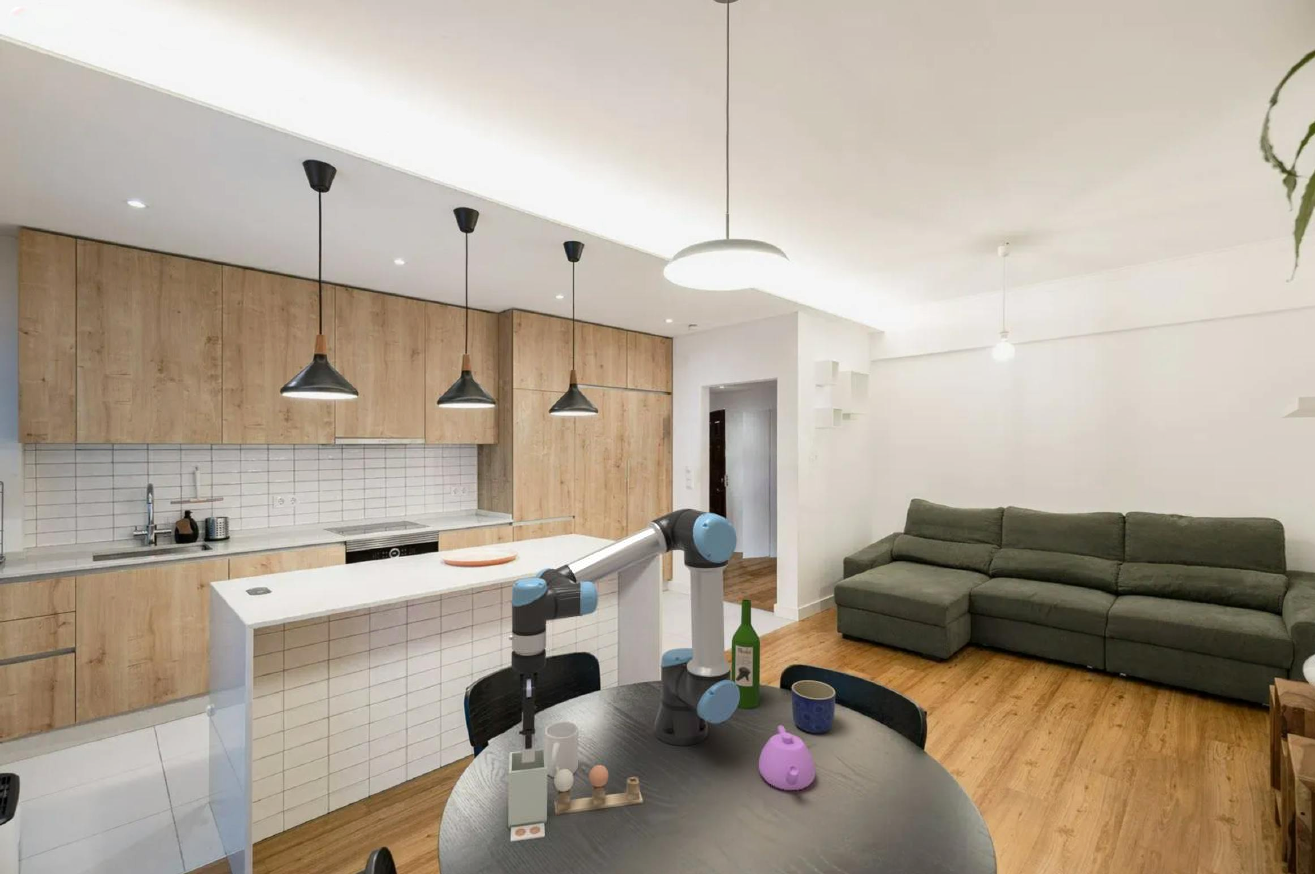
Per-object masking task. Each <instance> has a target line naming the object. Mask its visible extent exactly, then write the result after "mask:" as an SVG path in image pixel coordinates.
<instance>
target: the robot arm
mask: <svg viewBox="0 0 1315 874" xmlns="http://www.w3.org/2000/svg"><path fill="white" fill-rule="evenodd" d="M737 539H738V538H737V533H736V530H735V527H734V526H733V524H732V523H731V522H730V521H729V520H728V519H727V518H726V517H724V516H721V515H719V514H716V513H714V512H707V511H702V510H696V509H694V508H681V509H678V510H675V511H672V512H669V513H667V514H665V515H662V516H659V517H658V518H655V519H654V520H652V521H648V522H647V523H646V527H645V528H643V529H640V530H638V531H636V532H633V533H632V534H629V535H628V536H625V537H623V538H621V539H619V540H616V541H614V542H612V543H610V544H608V545H606V546H604V547H601V548H599V549H597V550H594V551H593V552H591V553H588V554H586V555H584V556H582V557H579V558H578V559H576V560H573V561H570V562H569V563H567V564H564V565H562V566H559V567H558V568H555V569H554V568H551V567H550V568H543V569H541V570H540V571H538V572H537V574H535V576H534V577H525V578H521V579H518V580H517V581H515V582H514V583H513V586H512V590H511V592H512V593H511V594H512V595H511V602H510V604H511V635H509V636H508V640H509V641H511V650H512V651H511V668H512V670H513V671H514V672H518V673H519V687H520V699H521V700H522V701H521V702H522V703H521V704H522V708H521V711H522V712H521V730H520V731H518V732H519V733H518V734H519V735H521V751H522V763H525V762H533V761H535V750H536V749H535V748H536V747H535V746H536V743H535V741H536V740H535V739H536V735H535V734H536V729H535V719H536V718H535V711H538V708H537V707H538V705H535V704H536V703H535V701H536V700H535V699H536V698H537V691H538V690H537V685H538V683H539V682H538V681H539V678H538V671H540V670H542V669H544V668H545V666H546V664H547V662H546V661H547V659H546V658H547V656H546V655H547V651H546V649H545V648H547V622H548V621H554V620H555V621H556V620H561V619H569V618H575V617H583V616H586V615H591V614H593V613H594V612H595V611H596V610H597V608H598V600H599V599H598V598H599V597H598V590H597V588H596V586H595V584H596V583H598V582H600V581H603V580H604V579H607V578H608V577H610V576H613V575H615V574H617V573H619V572H621V571H623V570H625V569H628V568H629V567H631V566H633V565H635V564H638V563H640V562H642V561H644V560H645V559H648V558H650V557H652V556H654V555H656V554H659V555H664V554H667V553H670V552H672V551H683V561H684V562H683V564H684V566H685V567H686V568H687V569H688V570H689V572H690V573H689V578H690V581H689V582H690V612H691V613H690V617H691V618H690V619H691V648H689V647H687V648H686V647H680V648H672V649H670V650H667V651H666V652H664V653H663V654H662V656H661V661H660V676H661V677H660V706H659V709H658V712H657V714H656V718H655V720H654V734H655V736H656V737H657V738H658V739H659V740H661V741H662V742H664V743H666V744H670V745H674V746H690V745H691V746H692V745H695V744H698V743H701V742H702V741H704V740H705V739H706V738H707V736H708V723H710V724H720V723H723V722H725V721H727V720H728V719H729V718H730V717H732V715H733V713H734V712H736V710H737V708H738V707H737V706H738V703H739V699H740V692H739V688H738V686H737V685H736V684H735V683H734V682H733V681H731V664H730V662H729V661H728V660H726V658H725V653H726V652H725V615H724V612H725V610H724V609H725V608H724V575H723V574H724V570H725V569H726V568H727V567H728V566H729V559H730V558H731V557H732V555H733V552H735V550H736V548H737V542H738V541H737Z"/></svg>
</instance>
